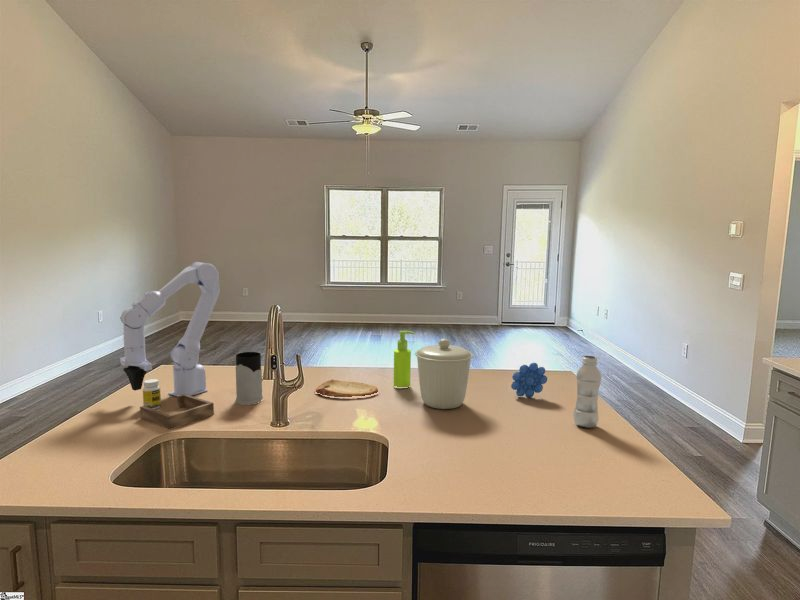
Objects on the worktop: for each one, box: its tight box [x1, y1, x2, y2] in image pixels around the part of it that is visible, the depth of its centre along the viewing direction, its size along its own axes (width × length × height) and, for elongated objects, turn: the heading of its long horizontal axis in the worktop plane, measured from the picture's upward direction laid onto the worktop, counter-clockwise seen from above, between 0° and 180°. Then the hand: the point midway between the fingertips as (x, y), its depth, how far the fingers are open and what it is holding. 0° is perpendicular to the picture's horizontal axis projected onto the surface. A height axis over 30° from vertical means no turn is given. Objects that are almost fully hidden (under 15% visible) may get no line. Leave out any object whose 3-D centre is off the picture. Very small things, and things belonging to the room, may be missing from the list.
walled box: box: [139, 394, 215, 430], centre depth 142 cm, size 14×14×4 cm
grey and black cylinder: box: [235, 351, 265, 406], centre depth 159 cm, size 9×14×15 cm, turn 159°
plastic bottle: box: [573, 355, 602, 429], centre depth 138 cm, size 6×7×20 cm
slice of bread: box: [315, 379, 379, 397], centre depth 166 cm, size 18×18×4 cm
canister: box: [414, 338, 474, 410], centre depth 155 cm, size 18×18×21 cm
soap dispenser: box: [393, 330, 415, 387], centre depth 173 cm, size 6×7×20 cm
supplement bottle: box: [142, 378, 162, 410], centre depth 149 cm, size 5×5×8 cm
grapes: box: [510, 362, 548, 399], centre depth 164 cm, size 12×7×12 cm, turn 85°
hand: (136, 389), depth 153 cm, fingers closed
